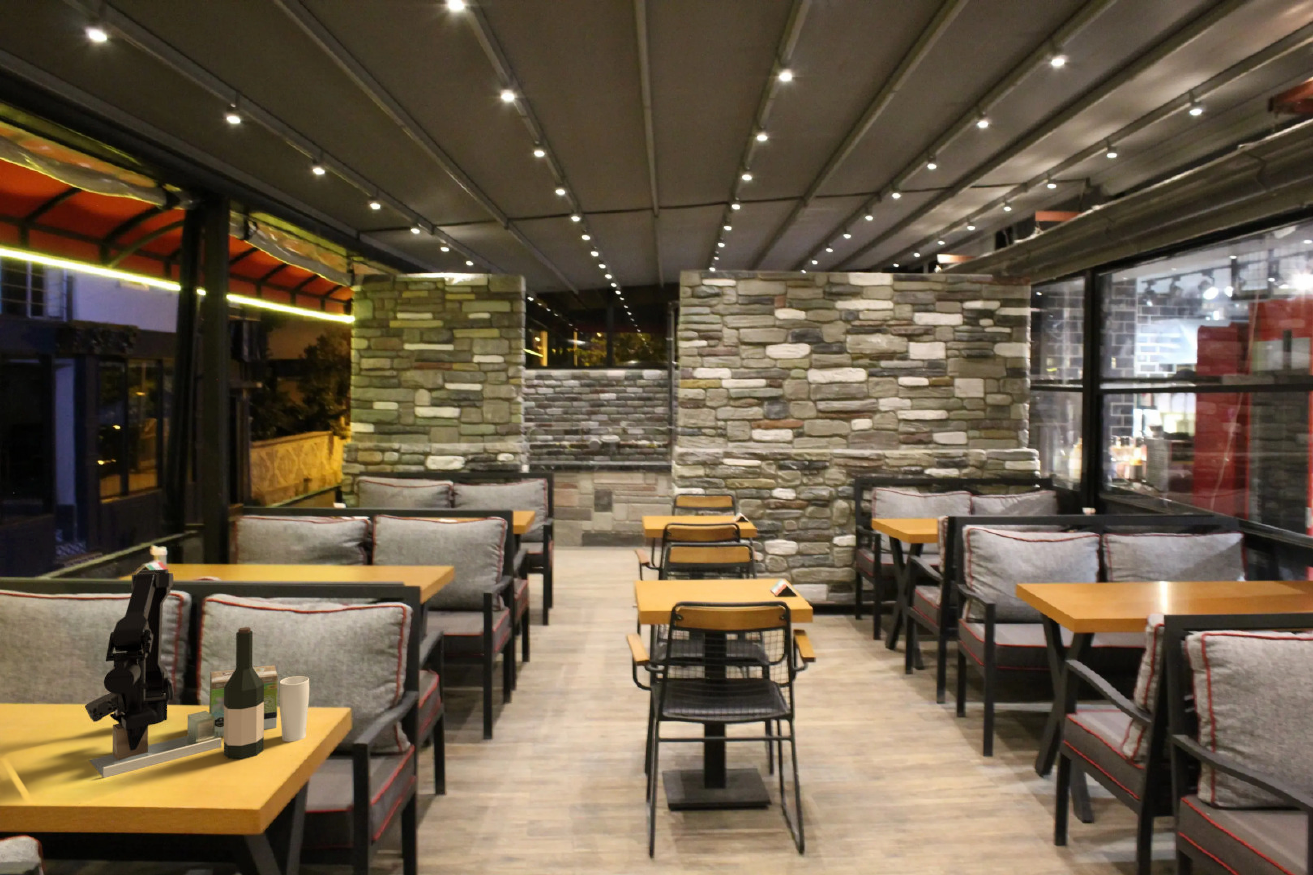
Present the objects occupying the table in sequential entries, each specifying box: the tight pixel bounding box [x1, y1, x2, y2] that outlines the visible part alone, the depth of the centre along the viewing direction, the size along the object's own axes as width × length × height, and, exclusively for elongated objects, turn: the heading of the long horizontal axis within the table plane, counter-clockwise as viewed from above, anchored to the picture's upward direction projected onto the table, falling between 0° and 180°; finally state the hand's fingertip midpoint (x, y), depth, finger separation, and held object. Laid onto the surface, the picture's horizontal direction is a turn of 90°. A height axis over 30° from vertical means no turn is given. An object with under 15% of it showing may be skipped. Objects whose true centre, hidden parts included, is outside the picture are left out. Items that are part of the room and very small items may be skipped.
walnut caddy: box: [112, 723, 149, 760], centre depth 187 cm, size 6×4×7 cm, turn 137°
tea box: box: [208, 664, 279, 738], centre depth 204 cm, size 15×10×15 cm, turn 120°
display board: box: [88, 735, 222, 779], centre depth 187 cm, size 24×13×3 cm, turn 137°
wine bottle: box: [223, 626, 265, 761], centre depth 188 cm, size 8×8×30 cm
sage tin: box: [187, 710, 216, 745], centre depth 192 cm, size 6×4×7 cm, turn 47°
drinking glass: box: [278, 675, 310, 743], centre depth 198 cm, size 7×7×15 cm
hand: (130, 747), depth 187 cm, fingers closed on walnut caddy, 4 cm apart
